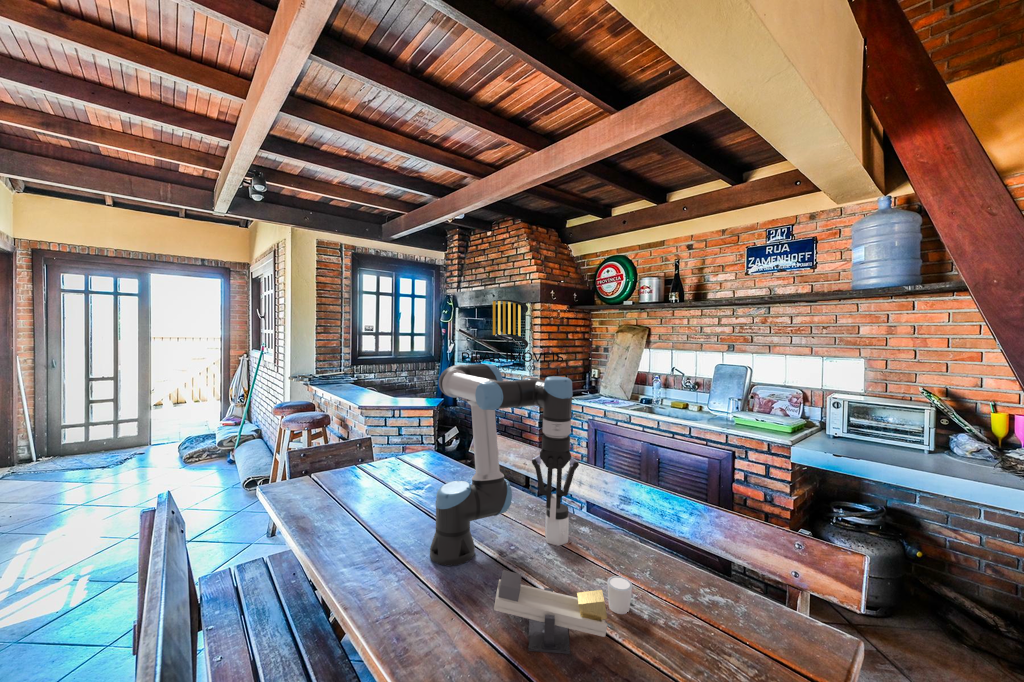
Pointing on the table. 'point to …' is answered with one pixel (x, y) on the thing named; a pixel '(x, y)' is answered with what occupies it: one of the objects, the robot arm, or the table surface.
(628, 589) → the shot glass
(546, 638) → the stand
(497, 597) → the beam
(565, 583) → the table surface
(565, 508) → the jar
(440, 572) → the table surface
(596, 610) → the rider
